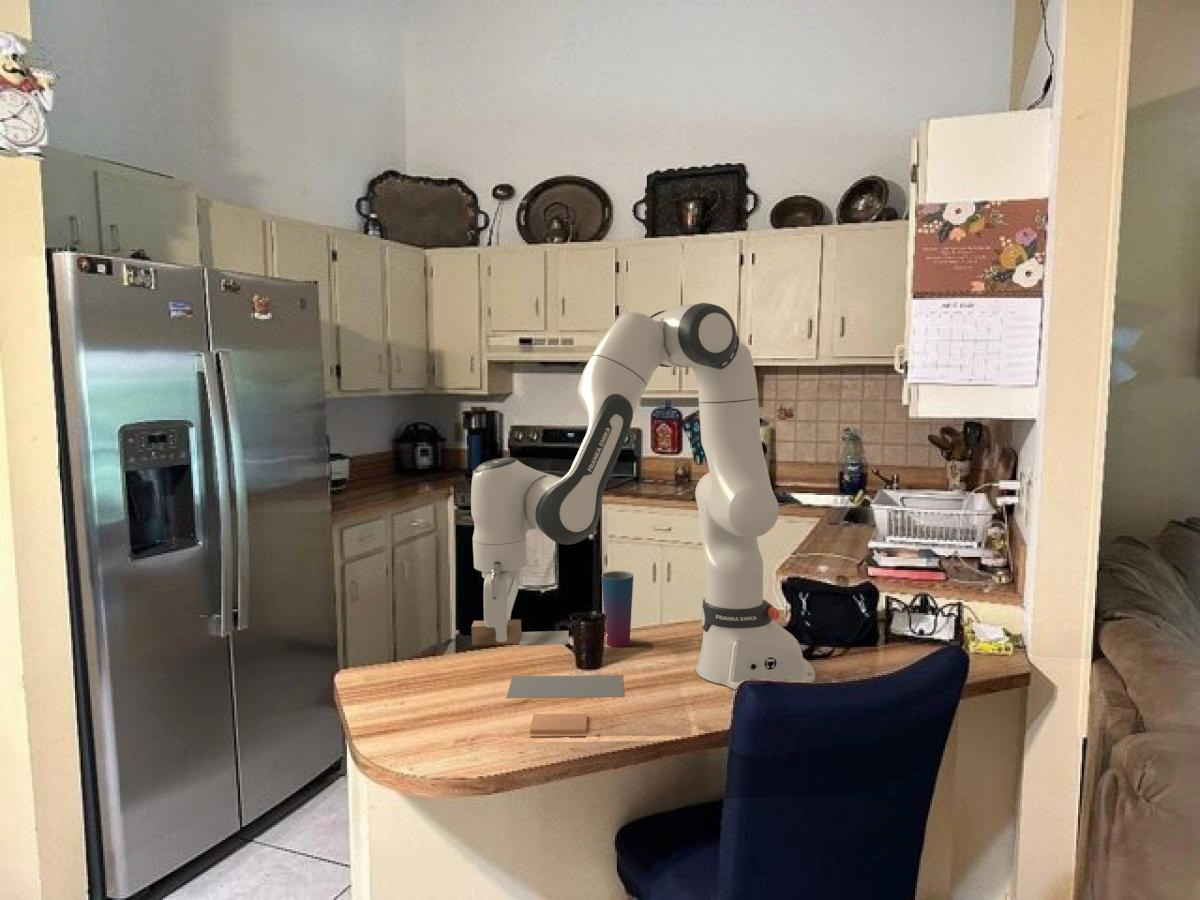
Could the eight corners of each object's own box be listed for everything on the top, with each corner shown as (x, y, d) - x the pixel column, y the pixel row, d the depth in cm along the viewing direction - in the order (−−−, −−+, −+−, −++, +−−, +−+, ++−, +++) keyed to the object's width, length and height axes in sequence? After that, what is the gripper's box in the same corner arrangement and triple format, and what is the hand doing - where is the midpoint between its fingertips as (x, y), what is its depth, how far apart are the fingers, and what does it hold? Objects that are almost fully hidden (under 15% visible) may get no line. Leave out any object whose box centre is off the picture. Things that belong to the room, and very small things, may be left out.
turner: (471, 647, 134) (470, 628, 134) (475, 637, 139) (474, 619, 139) (567, 644, 135) (567, 625, 134) (568, 633, 140) (568, 615, 139)
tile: (533, 724, 137) (587, 724, 137) (530, 740, 131) (586, 740, 131) (533, 713, 137) (587, 713, 136) (530, 729, 131) (585, 729, 130)
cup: (634, 638, 177) (634, 571, 176) (632, 649, 171) (632, 579, 169) (603, 637, 178) (603, 570, 176) (600, 648, 171) (600, 579, 170)
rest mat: (622, 679, 155) (622, 675, 154) (624, 700, 145) (624, 696, 144) (512, 680, 155) (512, 676, 154) (506, 702, 145) (506, 697, 145)
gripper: (513, 571, 125) (516, 657, 127) (523, 541, 145) (526, 616, 147) (472, 572, 125) (476, 659, 127) (488, 542, 145) (492, 617, 147)
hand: (503, 636), depth 137 cm, fingers closed on turner, 3 cm apart
